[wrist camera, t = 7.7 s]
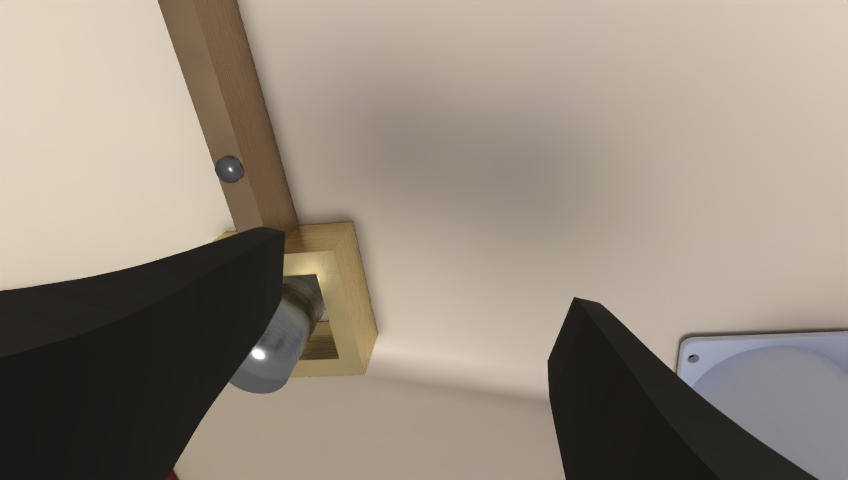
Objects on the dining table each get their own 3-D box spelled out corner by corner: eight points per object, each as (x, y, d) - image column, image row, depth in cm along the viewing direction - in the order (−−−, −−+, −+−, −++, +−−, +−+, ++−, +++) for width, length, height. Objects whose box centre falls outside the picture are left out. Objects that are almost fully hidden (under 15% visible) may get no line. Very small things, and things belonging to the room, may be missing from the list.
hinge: (377, 334, 24) (363, 378, 21) (30, 350, 27) (-23, 389, 24) (258, -203, 15) (204, -259, 12) (-240, -78, 18) (-376, -97, 15)
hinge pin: (338, 308, 23) (296, 394, 18) (283, 307, 23) (225, 392, 18) (329, 256, 22) (280, 332, 16) (270, 257, 22) (204, 331, 17)
